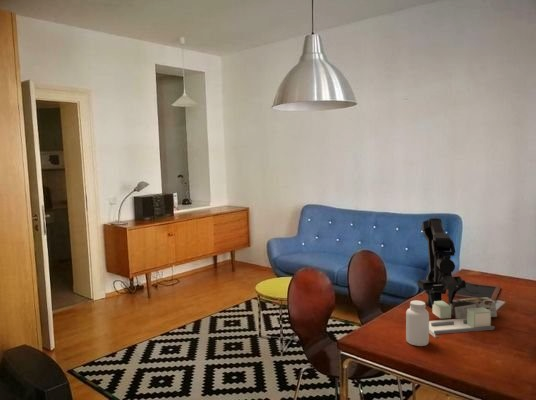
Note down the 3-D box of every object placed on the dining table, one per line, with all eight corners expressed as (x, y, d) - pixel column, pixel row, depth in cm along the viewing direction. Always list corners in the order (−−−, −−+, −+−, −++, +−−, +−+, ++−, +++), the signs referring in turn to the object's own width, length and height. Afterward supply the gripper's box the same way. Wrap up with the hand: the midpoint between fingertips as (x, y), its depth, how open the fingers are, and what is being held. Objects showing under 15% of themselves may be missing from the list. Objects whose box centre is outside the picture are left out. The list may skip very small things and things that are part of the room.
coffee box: (495, 300, 170) (453, 303, 172) (497, 317, 170) (455, 319, 172) (487, 296, 179) (447, 299, 181) (489, 311, 179) (449, 314, 181)
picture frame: (457, 284, 224) (447, 297, 203) (457, 280, 223) (447, 293, 203) (500, 289, 212) (493, 304, 192) (500, 286, 212) (494, 300, 192)
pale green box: (440, 322, 172) (440, 307, 172) (432, 316, 179) (432, 301, 179) (451, 321, 173) (451, 306, 172) (442, 315, 180) (442, 300, 179)
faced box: (466, 324, 166) (467, 308, 165) (483, 323, 167) (483, 307, 166) (473, 329, 161) (474, 312, 161) (490, 327, 162) (491, 311, 161)
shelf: (419, 325, 170) (419, 318, 170) (475, 321, 173) (475, 314, 172) (435, 337, 158) (435, 330, 158) (494, 332, 161) (494, 326, 160)
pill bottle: (428, 338, 158) (428, 299, 156) (429, 348, 150) (429, 307, 148) (406, 336, 160) (406, 298, 159) (405, 345, 153) (406, 305, 151)
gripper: (430, 273, 165) (429, 312, 166) (474, 270, 167) (474, 309, 168) (417, 266, 176) (416, 302, 177) (458, 264, 178) (458, 300, 179)
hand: (441, 303), depth 175 cm, fingers open, 7 cm apart
